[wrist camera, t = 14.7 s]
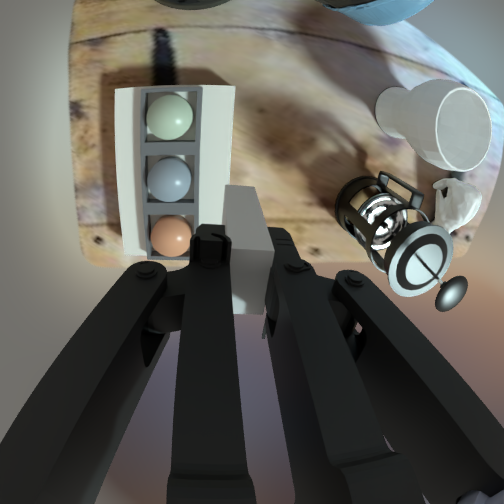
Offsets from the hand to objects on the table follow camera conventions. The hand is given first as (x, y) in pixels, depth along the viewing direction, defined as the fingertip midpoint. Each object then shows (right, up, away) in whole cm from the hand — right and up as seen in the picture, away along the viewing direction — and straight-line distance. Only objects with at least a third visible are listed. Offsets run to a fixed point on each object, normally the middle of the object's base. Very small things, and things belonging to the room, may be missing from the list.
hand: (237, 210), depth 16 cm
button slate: (-9, +7, +19) cm, 22 cm away
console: (-9, +9, +23) cm, 26 cm away
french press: (+18, +5, +28) cm, 33 cm away
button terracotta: (-9, 0, +22) cm, 24 cm away
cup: (+22, +18, +21) cm, 35 cm away
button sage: (-8, +13, +15) cm, 22 cm away
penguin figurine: (+33, +6, +29) cm, 44 cm away
